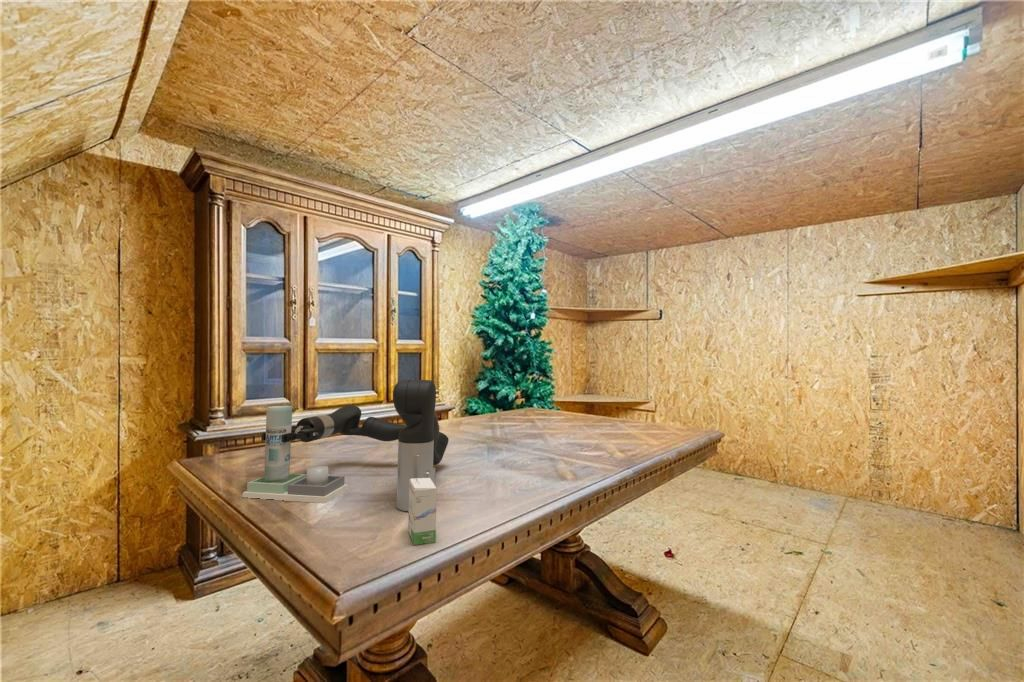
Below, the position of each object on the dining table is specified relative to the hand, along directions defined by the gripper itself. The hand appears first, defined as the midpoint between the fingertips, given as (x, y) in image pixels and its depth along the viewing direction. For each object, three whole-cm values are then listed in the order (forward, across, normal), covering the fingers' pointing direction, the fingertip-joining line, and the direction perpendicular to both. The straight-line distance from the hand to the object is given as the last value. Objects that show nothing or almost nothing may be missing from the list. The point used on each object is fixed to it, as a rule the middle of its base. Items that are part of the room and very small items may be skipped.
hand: (272, 437), depth 121 cm
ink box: (+11, -53, -16) cm, 57 cm away
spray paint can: (-2, 0, -12) cm, 12 cm away
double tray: (-3, -6, -16) cm, 17 cm away
